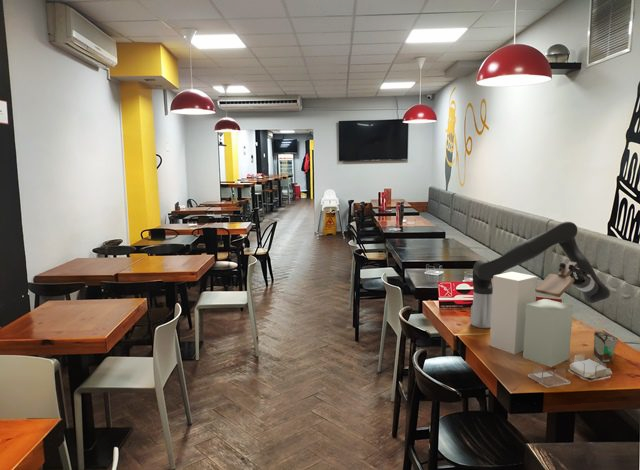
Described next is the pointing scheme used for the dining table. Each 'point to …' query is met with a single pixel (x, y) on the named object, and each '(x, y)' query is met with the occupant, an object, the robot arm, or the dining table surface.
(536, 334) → the low stand
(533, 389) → the dining table surface
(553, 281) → the serving paddle
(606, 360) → the food container
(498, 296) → the tall stand
